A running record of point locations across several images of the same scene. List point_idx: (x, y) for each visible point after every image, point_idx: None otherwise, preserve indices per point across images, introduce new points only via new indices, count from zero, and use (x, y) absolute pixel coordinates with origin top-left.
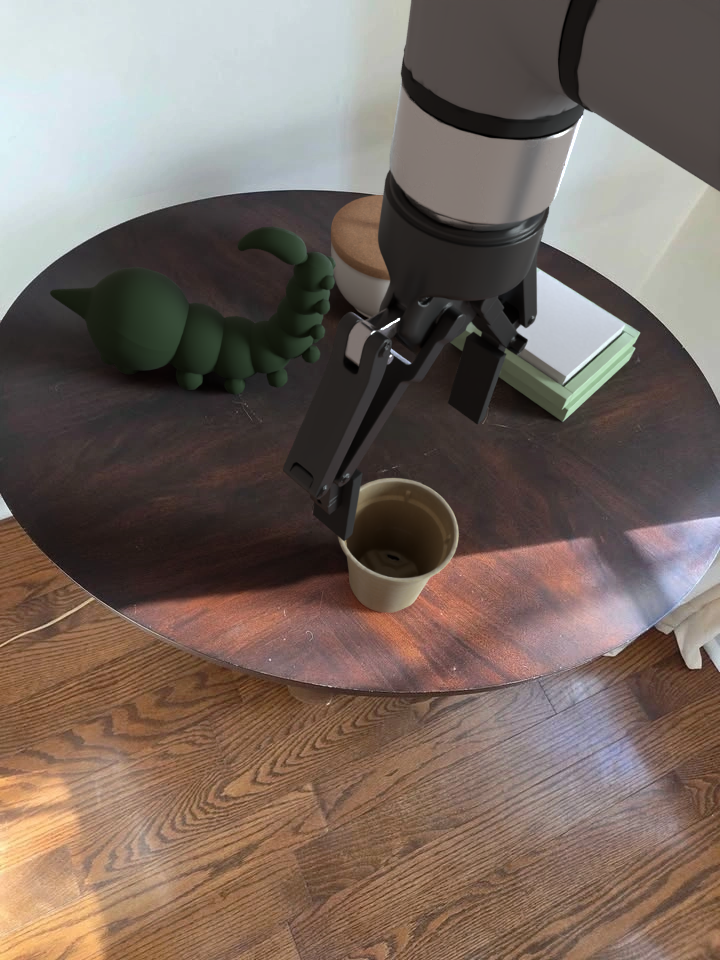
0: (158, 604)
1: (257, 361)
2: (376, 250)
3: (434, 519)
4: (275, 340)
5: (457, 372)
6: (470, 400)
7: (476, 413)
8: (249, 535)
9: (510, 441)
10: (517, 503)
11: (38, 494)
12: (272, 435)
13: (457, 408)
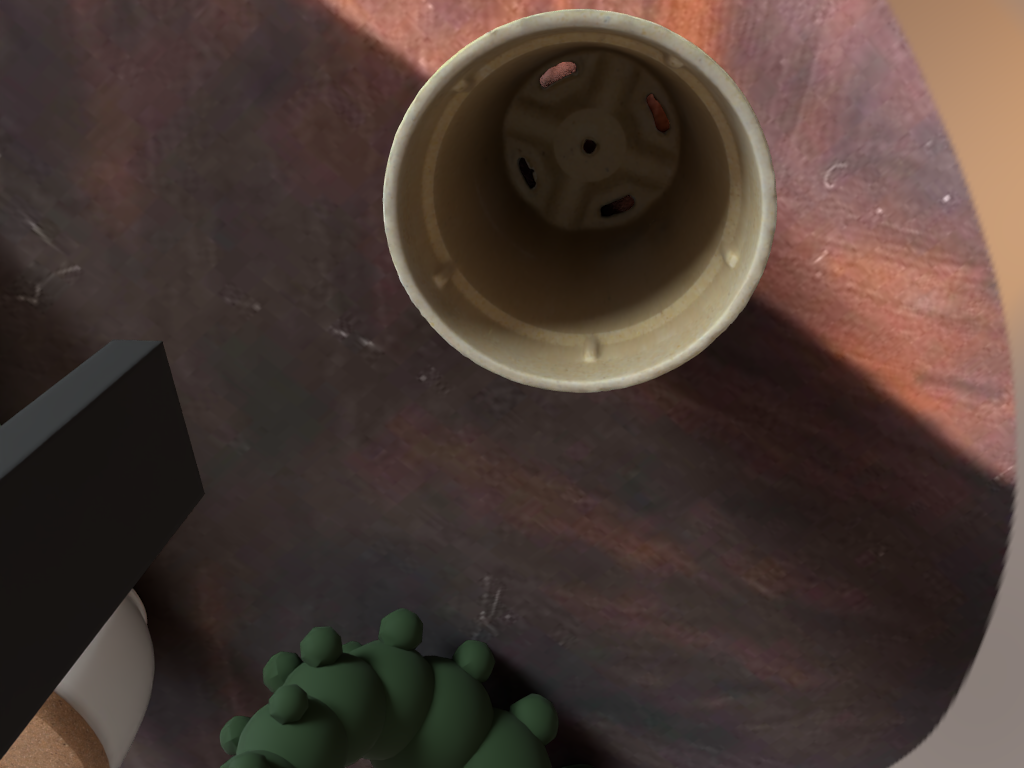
0: (968, 450)
1: (424, 695)
2: (21, 754)
3: (434, 165)
4: (373, 725)
5: (78, 649)
6: (116, 472)
7: (132, 393)
8: (712, 432)
9: (45, 184)
10: (148, 43)
11: (898, 716)
12: (494, 546)
13: (186, 454)
